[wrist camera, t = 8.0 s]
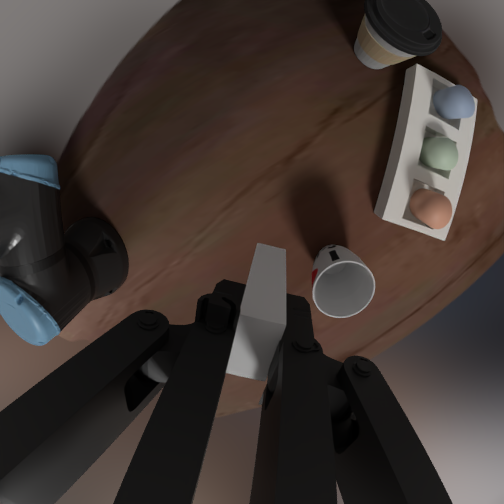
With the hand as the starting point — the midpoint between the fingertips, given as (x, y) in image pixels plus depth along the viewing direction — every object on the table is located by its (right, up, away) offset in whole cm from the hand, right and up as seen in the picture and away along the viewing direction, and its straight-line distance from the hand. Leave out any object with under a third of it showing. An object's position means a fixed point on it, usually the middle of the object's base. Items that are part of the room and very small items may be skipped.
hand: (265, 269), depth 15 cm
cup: (+12, 0, +28) cm, 30 cm away
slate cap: (+27, +22, +13) cm, 38 cm away
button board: (+26, +16, +19) cm, 36 cm away
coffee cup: (+17, +31, +15) cm, 38 cm away
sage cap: (+26, +16, +18) cm, 35 cm away
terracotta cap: (+24, +8, +19) cm, 32 cm away
